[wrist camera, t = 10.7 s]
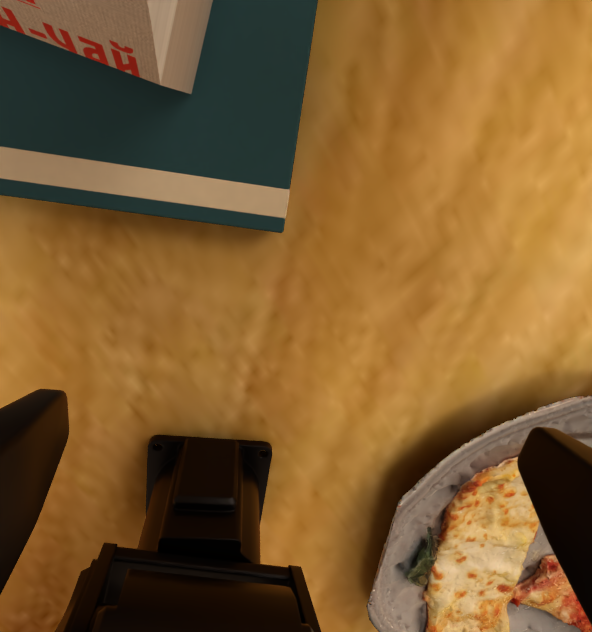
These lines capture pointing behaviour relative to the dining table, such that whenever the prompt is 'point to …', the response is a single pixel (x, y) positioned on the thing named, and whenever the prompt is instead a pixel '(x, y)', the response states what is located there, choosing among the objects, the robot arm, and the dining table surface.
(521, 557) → the food plate
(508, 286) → the dining table surface
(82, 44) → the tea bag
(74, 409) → the dining table surface
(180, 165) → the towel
